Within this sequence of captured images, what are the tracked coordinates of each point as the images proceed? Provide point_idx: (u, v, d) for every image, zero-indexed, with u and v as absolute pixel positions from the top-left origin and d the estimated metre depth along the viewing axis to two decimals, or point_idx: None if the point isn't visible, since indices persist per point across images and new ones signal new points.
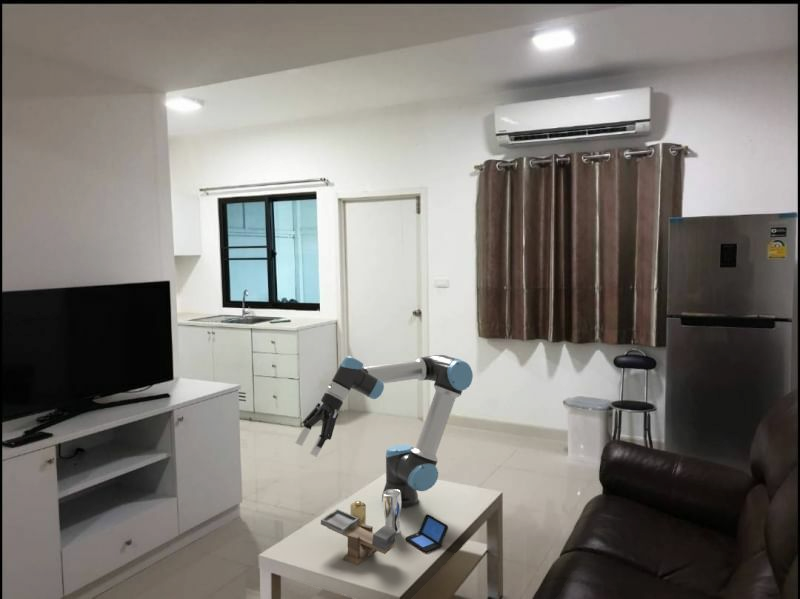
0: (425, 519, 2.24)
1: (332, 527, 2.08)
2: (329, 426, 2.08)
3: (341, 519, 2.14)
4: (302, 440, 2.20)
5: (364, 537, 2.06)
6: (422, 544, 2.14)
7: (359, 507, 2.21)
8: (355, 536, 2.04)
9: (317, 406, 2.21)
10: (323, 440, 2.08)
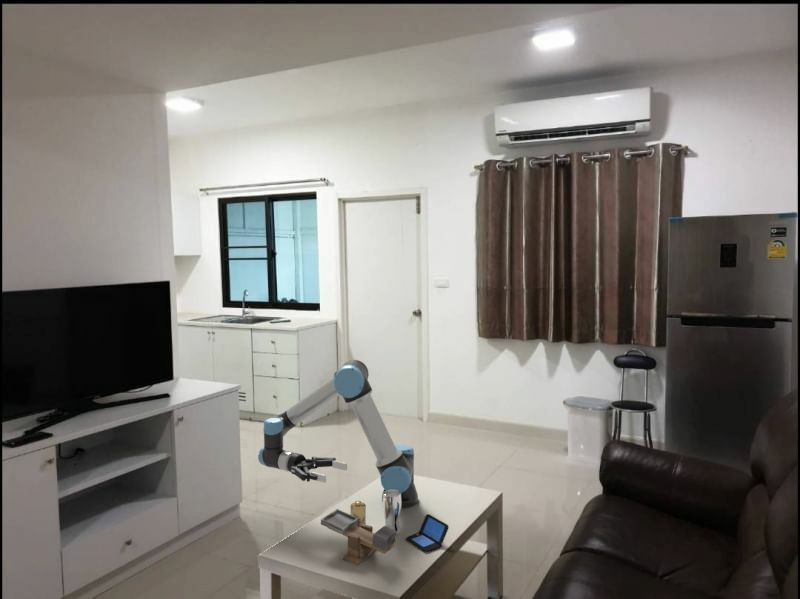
0: (425, 519, 2.24)
1: (332, 527, 2.08)
2: (298, 476, 2.25)
3: (341, 519, 2.14)
4: (342, 465, 2.33)
5: (364, 537, 2.06)
6: (423, 544, 2.14)
7: (359, 507, 2.21)
8: (355, 536, 2.04)
9: (313, 463, 2.39)
10: (309, 477, 2.23)
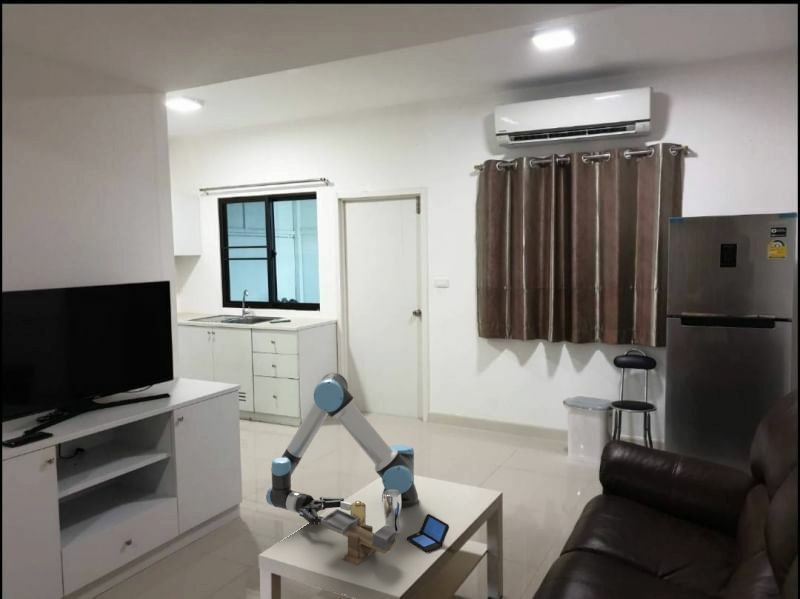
0: (426, 519, 2.24)
1: (332, 527, 2.08)
2: (306, 519, 2.24)
3: (341, 519, 2.14)
4: None
5: (364, 537, 2.06)
6: (423, 544, 2.14)
7: (359, 507, 2.21)
8: (355, 536, 2.04)
9: (321, 504, 2.39)
10: (318, 520, 2.22)
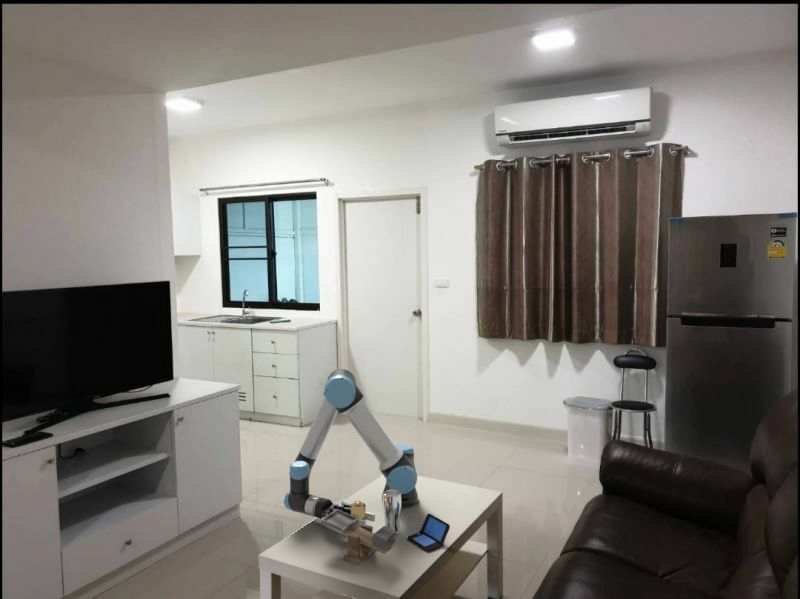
0: (426, 518, 2.24)
1: (332, 527, 2.08)
2: None
3: (341, 519, 2.14)
4: (369, 515, 2.24)
5: (364, 537, 2.06)
6: (424, 543, 2.15)
7: (359, 507, 2.21)
8: (355, 536, 2.04)
9: None
10: None
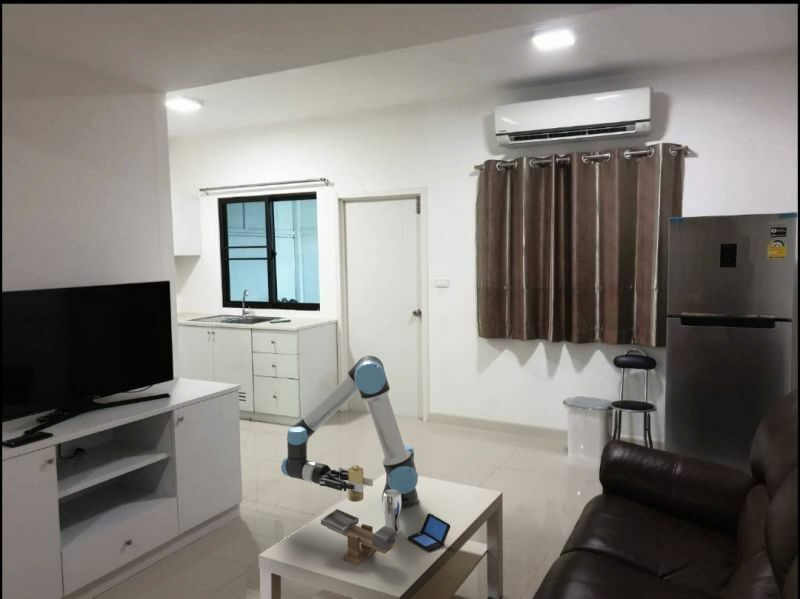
0: (427, 518, 2.24)
1: (332, 527, 2.08)
2: (331, 487, 2.19)
3: (341, 519, 2.14)
4: (367, 480, 2.22)
5: (364, 537, 2.06)
6: (424, 543, 2.15)
7: (357, 471, 2.19)
8: (355, 536, 2.04)
9: None
10: (346, 486, 2.18)
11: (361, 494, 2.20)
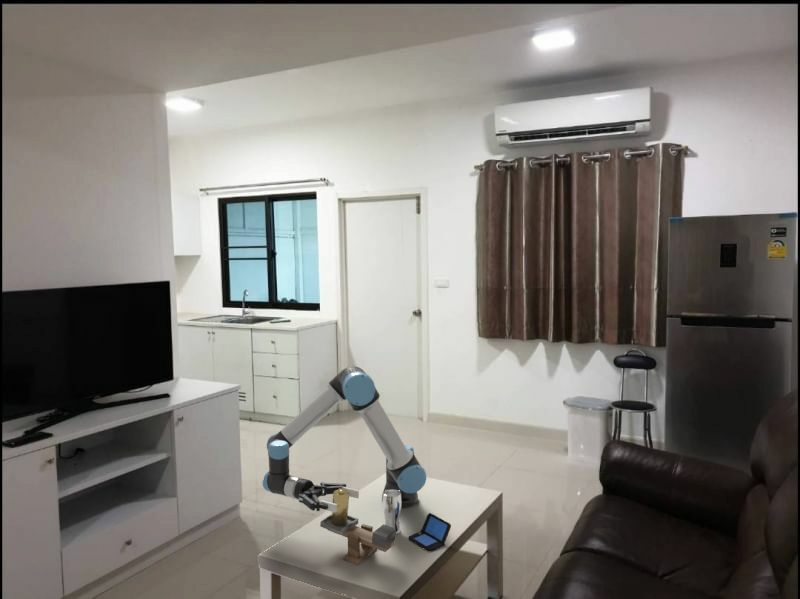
0: (427, 518, 2.24)
1: (332, 528, 2.08)
2: (307, 505, 2.08)
3: None
4: (353, 492, 2.16)
5: (364, 537, 2.06)
6: (425, 543, 2.15)
7: (342, 496, 2.09)
8: (355, 536, 2.04)
9: (322, 489, 2.23)
10: (319, 506, 2.06)
11: (345, 519, 2.11)
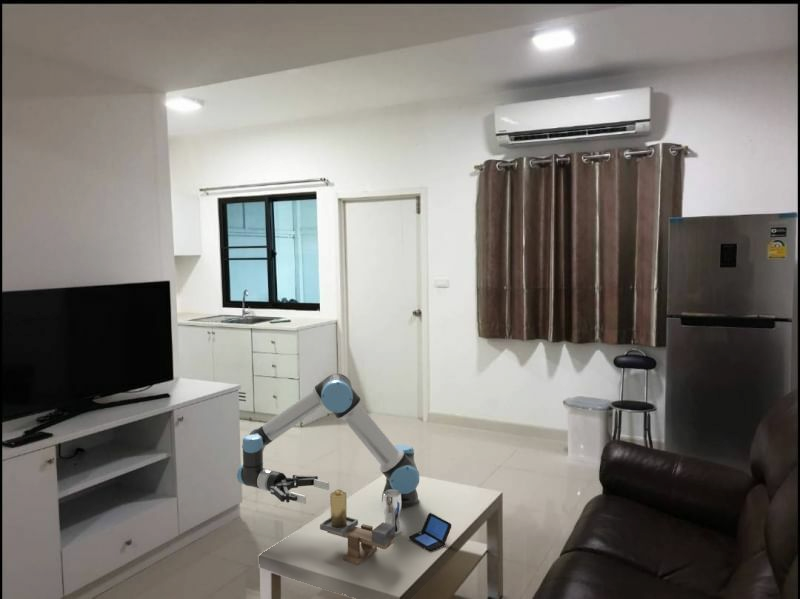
0: (428, 518, 2.25)
1: (331, 530, 2.08)
2: (277, 497, 2.15)
3: None
4: (323, 484, 2.23)
5: (364, 536, 2.06)
6: (426, 543, 2.15)
7: (339, 496, 2.10)
8: (355, 536, 2.04)
9: (294, 482, 2.29)
10: (289, 497, 2.13)
11: (344, 520, 2.11)
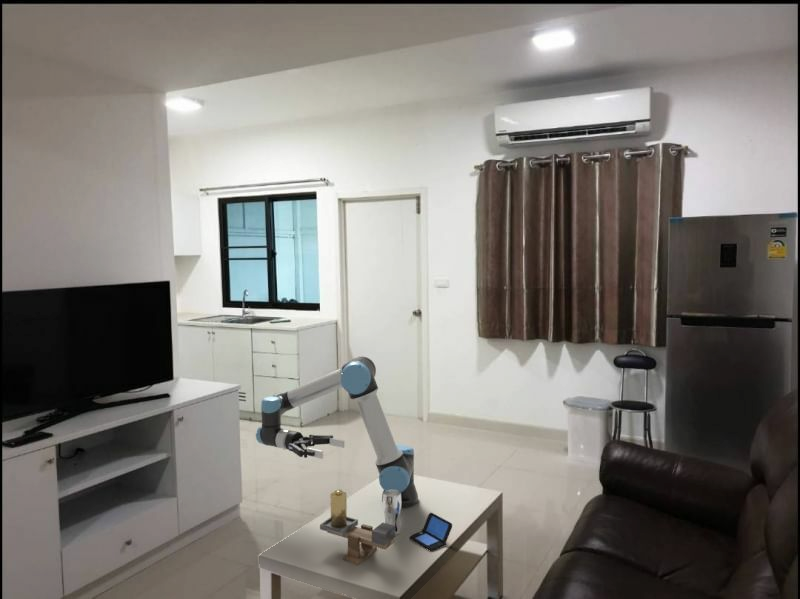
0: (429, 517, 2.25)
1: (331, 530, 2.08)
2: (295, 452, 2.26)
3: None
4: (339, 442, 2.34)
5: (364, 536, 2.06)
6: (427, 542, 2.15)
7: (339, 496, 2.10)
8: (355, 536, 2.04)
9: (311, 441, 2.40)
10: (306, 453, 2.24)
11: (344, 520, 2.11)
